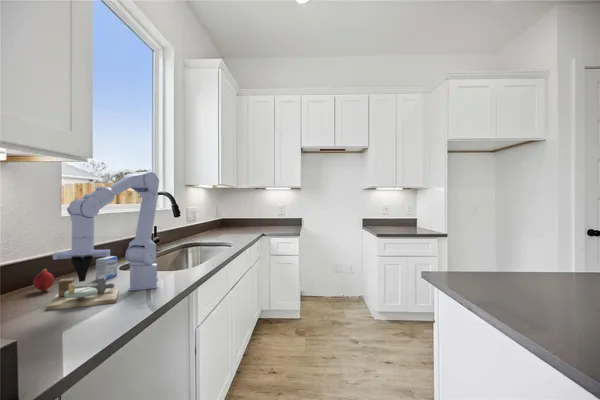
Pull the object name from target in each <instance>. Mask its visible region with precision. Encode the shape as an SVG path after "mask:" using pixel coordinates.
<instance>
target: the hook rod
mask: <svg viewBox="0 0 600 400" xmlns="http://www.w3.org/2000/svg"><path fill="white" fill-rule="evenodd" d="M69 284H74V285H75V278H74V277H71V278H69V277H68V278H60V280H59V281H58V291H57V292H58V293H57V294H58V297H61V296H64V293H65V292H66V291H68V290H69ZM84 287H93V288H96V289H97V284H91V285H90V284H89V285H80V286H79V285H78V286H74V289H76V288H84ZM114 288H115V283H114V282H110V283H106V284H105V289H114Z"/></svg>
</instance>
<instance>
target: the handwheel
mask: <svg viewBox="0 0 600 400" xmlns="http://www.w3.org/2000/svg"><path fill="white" fill-rule="evenodd" d="M74 287H75V283H74V284H69V290H68V291H66V292H65V293H64V297H66V298H77V299H78V300H80V299H84V297H86V296H90V295H93V294H95V293H96V291H97V289H96V288H93V287H84V288H76V289H74Z"/></svg>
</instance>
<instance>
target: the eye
mask: <svg viewBox="0 0 600 400" xmlns="http://www.w3.org/2000/svg"><path fill="white" fill-rule="evenodd" d="M105 284H107V280H106V275H99V277H98V280H97V283H96V285H97V295H99V294H104V293H105V291H106V289H105Z"/></svg>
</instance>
